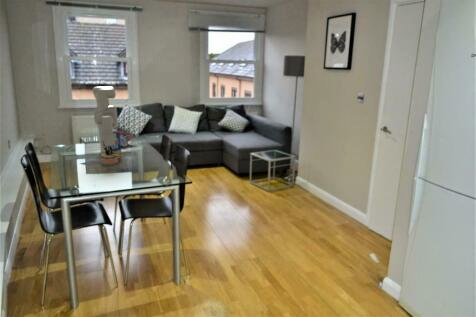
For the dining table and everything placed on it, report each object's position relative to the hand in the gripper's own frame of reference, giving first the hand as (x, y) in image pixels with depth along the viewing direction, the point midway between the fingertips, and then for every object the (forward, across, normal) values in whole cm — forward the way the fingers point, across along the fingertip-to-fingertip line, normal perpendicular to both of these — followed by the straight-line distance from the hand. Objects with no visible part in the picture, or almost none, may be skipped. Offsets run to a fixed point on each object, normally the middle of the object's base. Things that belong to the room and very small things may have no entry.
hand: (109, 154), depth 299 cm
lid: (+1, 0, 0) cm, 1 cm away
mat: (+7, +8, -12) cm, 16 cm away
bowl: (+7, 0, 0) cm, 7 cm away
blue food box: (+8, -14, -10) cm, 19 cm away
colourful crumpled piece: (+8, -55, -44) cm, 71 cm away
